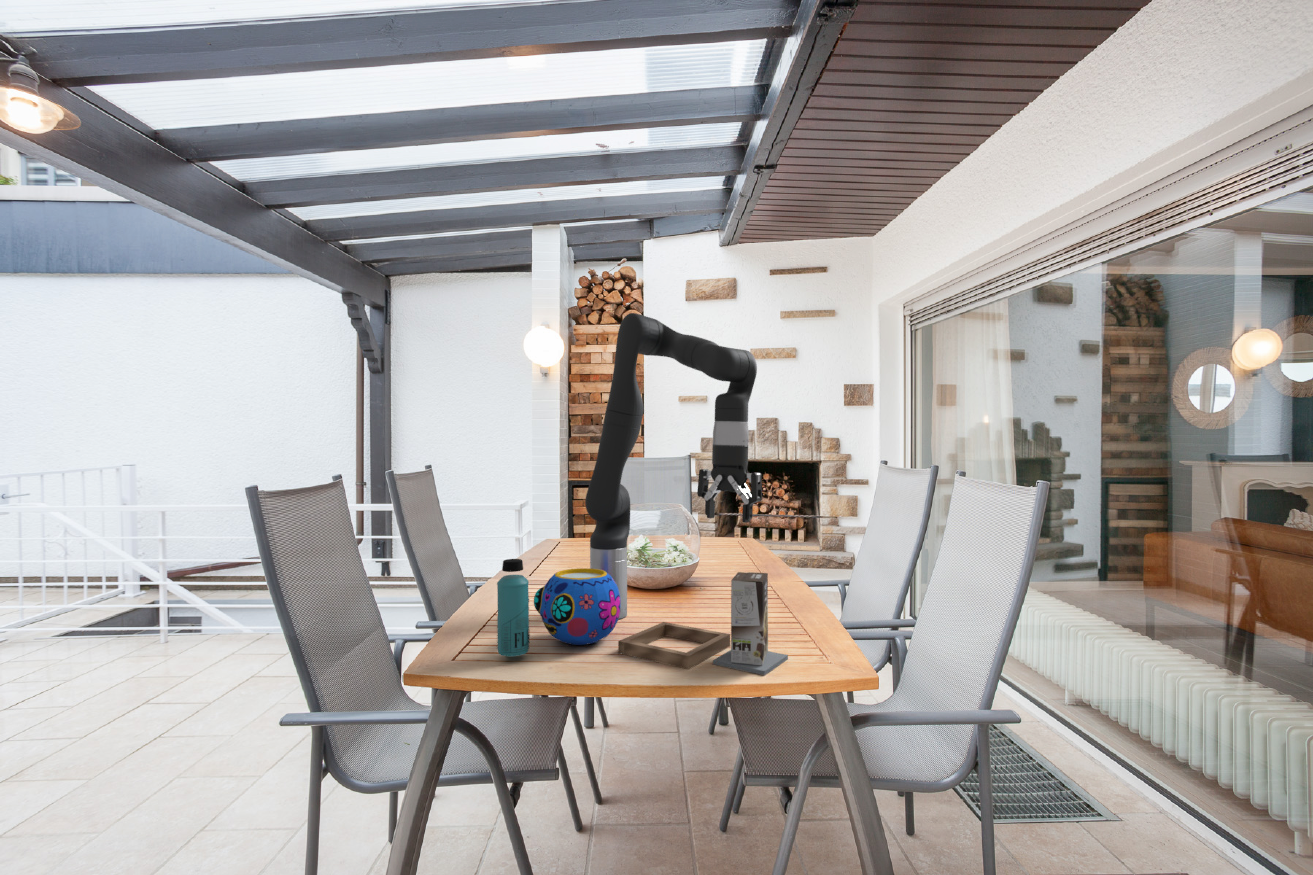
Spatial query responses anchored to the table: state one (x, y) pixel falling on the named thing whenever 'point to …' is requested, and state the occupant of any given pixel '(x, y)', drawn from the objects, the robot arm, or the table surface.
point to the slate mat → (768, 665)
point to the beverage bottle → (513, 611)
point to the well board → (641, 649)
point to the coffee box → (749, 618)
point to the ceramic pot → (579, 605)
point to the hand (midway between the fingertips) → (728, 520)
